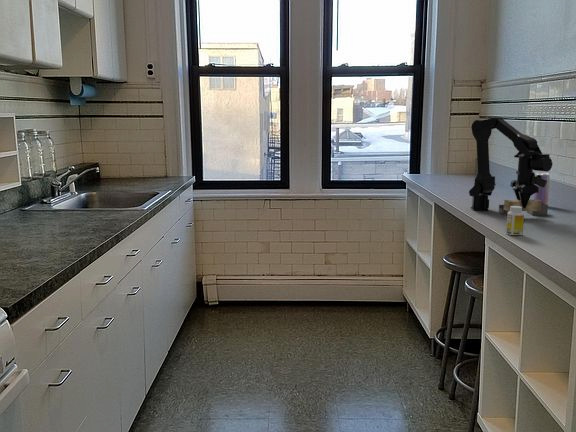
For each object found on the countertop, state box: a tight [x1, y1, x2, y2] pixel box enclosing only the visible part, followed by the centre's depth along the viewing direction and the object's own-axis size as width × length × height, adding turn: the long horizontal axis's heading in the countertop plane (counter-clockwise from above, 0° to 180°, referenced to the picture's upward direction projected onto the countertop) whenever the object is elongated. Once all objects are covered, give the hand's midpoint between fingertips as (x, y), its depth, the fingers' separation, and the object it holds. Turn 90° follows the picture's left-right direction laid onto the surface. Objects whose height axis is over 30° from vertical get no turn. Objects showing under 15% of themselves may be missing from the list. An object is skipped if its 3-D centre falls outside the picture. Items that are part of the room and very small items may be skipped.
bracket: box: [526, 202, 549, 217], centre depth 248 cm, size 6×8×4 cm
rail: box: [503, 199, 542, 212], centre depth 239 cm, size 14×4×4 cm, turn 95°
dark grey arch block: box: [498, 204, 509, 216], centre depth 249 cm, size 4×8×3 cm, turn 174°
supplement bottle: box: [505, 206, 525, 236], centre depth 207 cm, size 6×6×10 cm
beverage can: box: [533, 172, 551, 206], centre depth 266 cm, size 6×6×15 cm
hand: (522, 207), depth 239 cm, fingers closed on rail, 4 cm apart
